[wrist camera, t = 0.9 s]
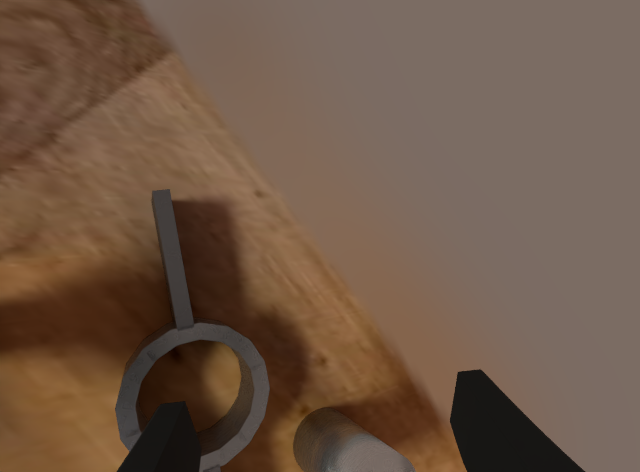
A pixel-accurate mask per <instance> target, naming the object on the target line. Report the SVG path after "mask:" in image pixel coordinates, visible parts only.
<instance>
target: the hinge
mask: <svg viewBox="0 0 640 472" xmlns="http://www.w3.org/2000/svg"><path fill="white" fill-rule="evenodd" d="M152 207H153V213H154V218H155V224H156V229H157V235H158V240H159V246H160V252H161V257H162V263H163V268H164V274H165V279H166V285H167V290H168V296H169V301H170V307H171V313H172V318H173V322H172V323H168V324H166V325H164V326H163V327H162V328H160V329H159V330H157V331H156V332H154V333H153V334H151V335H150V336H148V337H147V338H145V339H144V340H143V341H142V343H141V344H140V345H139V347H138V348H137V349H136V351H135V352H134V354H133V355H132V356H131V358H130V359H129V361H128V362H127V363H126V367H125V371H124V375H123V379H122V383H121V387H120V391H119V395H118V399H117V403H116V408H115V411H116V416H117V422H118V428H119V433H120V439H121V441H122V442H123V444H124V445H125V446H126V448H127V449H128V450H129V452H130V451H131V449H132V448H133V446H134V445H135V443H136V442H137V440H138V438H139V437H140V435H141V434H142V432H143V431H144V429H145V427H146V426H147V424H148V423H149V421H148V419H147V418H146V417H145V415H144V414H143V413H142V411H141V410H140V405H139V400H138V393H139V389H140V385H141V381H142V380H143V378H144V377H145V375H146V374H147V373H148V371H149V370H150V368H151V367H152V365H153V364H154V363H155V361H156V360H157V359H158V358H160V357H161V356H163V355H164V354H166V353H167V352H168V351H170V350H171V349H173V348H174V347H175V346H177V345H181V344H184V343H188V342H192V341H196V340H199V339H201V340H210V341H218V342H223V343H224V344H226V345H228V346H229V347H231V349H232V350H233V352H234V353H235V355H236V356H237V357H238V359H239V365H240V370H241V376H242V378H241V383H240V388H239V393H238V397H237V399H236V400H235V402H234V404H233V405H232V407H231V409H230V410H229V412H228V414H227V415H226V416H224V417H223V418H222V419H221V420H220V421H218V422H217V423H216V424H215V425H214V426H212V427H211V428H209V429H206V430H204V431H201V432H198V433H196V434H197V437H198V440H199V443H200V446H201V449H202V451H201V460H200V469H199V472H221V470H220V466H223V465H225V464H227V463H228V462H229V461H230V460H231V459H232V458H233V457H235V456H236V455H237V454H238V453H239V452H240V451H241V450H242V449H243V448H245V447H246V446H247V445H248V444H249V443H250V441H251V440H252V438H253V436H254V434H255V433H256V431H257V429H258V427H259V426H260V424H261V422H262V420H263V419H264V416H265V412H266V407H267V401H268V396H269V390H270V386H269V381H268V376H267V370H266V365H265V361H264V360H263V358H262V357H261V355H260V354H259V352H258V351H257V349H256V348H255V346H254V345H253V343H252V342H251V340H249V339H247V338H246V337H244V336H243V335H241V334H239V333H238V332H236V331H235V330H233V329H231V328H230V327H228V326H226V325H225V324H223V323H221V322H220V321H216V320H210V319H203V318H196V317H193V316H192V310H191V305H190V299H189V294H188V288H187V283H186V277H185V272H184V266H183V261H182V255H181V250H180V244H179V239H178V233H177V228H176V222H175V217H174V211H173V205H172V200H171V194H170V189H167V190H157V191H152Z"/></svg>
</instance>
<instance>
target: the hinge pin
mask: <svg viewBox="0 0 640 472" xmlns="http://www.w3.org/2000/svg"><path fill="white" fill-rule="evenodd" d="M293 452H294V457H295V459H296V462H297V463H298V465H299V466H300V468H301V469H302V470H303V471H304V472H416V471H415V469H414V467H413V465H412V464H411V462H410V461H409V460H408V459H407V458H405V457H404V456H403V455H401V454H400V453H398V452H397V451H395V450H394V449H392V448H391V447H389V446H388V445H387V444H385V443H384V442H382V441H381V440H379V439H378V438H376V437H375V436H374V435H372V434H371V433H369V432H368V431H366V430H365V429H363V428H362V427H360V426H359V425H358V424H356V423H355V422H353V421H352V420H350V419H349V418H347V417H346V416H345V415H343V414H342V413H340V412H339V411H337V410H335V409H332V408H321V409H317V410H315V411H313V412H311V413H310V414H309V415H307V416H306V417H305V418H304V419H303V421H302V422H301V423H300V425H299V427H298V429H297V431H296V433H295V437H294V442H293Z"/></svg>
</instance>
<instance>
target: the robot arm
mask: <svg viewBox="0 0 640 472" xmlns="http://www.w3.org/2000/svg"><path fill="white" fill-rule="evenodd" d="M450 423H451V426H452V430H453V433H454V436H455V439H456V442H457V445H458V448H459V451H460V454H461V457H462V460H463V463H464V465H465V468H466V470H467V472H585V471H584V470H583V469H582V468H580V467H579V466H578V465H577V464H576V463H575V462H574V461H573V460H572V459H570V458H569V457H568V456H567V455H566V454H565V453H564V452H563V451H562V450H561V449H560V448H559V447H558V446H557V445H555V444H554V442H552V441H551V440H550V439H549V438H548V437H547V436H546V435H545V434H544V433H543V432H542V431H541V430H540V429H539V428H538V427H537V426H536V425H535V424H534V423H533V422H532V421H531V420H530V419H529V418H528V417H527V416H526V415H525V414H524V413H523V412H522V411H521V410H520V409H519V408H518V407H517V406H516V405H515V404H514V403H513V402H512V401H511V400H510V399H509V398H508V397H507V396H506V395H505V394H504V393H503V392H502V391H501V390H500V389H499V388H498V387H497V386H496V385H495V384H494V382H493V381H492V380H491V379H490V378H489V377H488V376H487V375H486V374H485V373H484V372H483V371H482V370H471V371H462V372H458V375H457V381H456V387H455V393H454V399H453V406H452V411H451V417H450ZM201 451H202V449H201V446H200V443H199V440H198V437H197V434H196V432H195V429H194V426H193V423H192V420H191V417H190V414H189V411H188V409H187V406H186V403H185V401H183V402H174V403H165V404H161V405H160V406H159V407H158V408H157V410H156V411H155V413H154V415H153V416H152V418H151V419H150V421H149V423H148V424H147V426H146V427H145V429H144V431H143V432H142V434H141V435H140V437H139V438H138V440H137V442H136V443H135V445H134V446H133V448H132V449H131V451H130V452H129V454H128V455H127V457H126V458H125V460H124V462H123V463H122V465H121V466H120V467H119V469H118V470H117V472H199V469H200V460H201Z"/></svg>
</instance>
